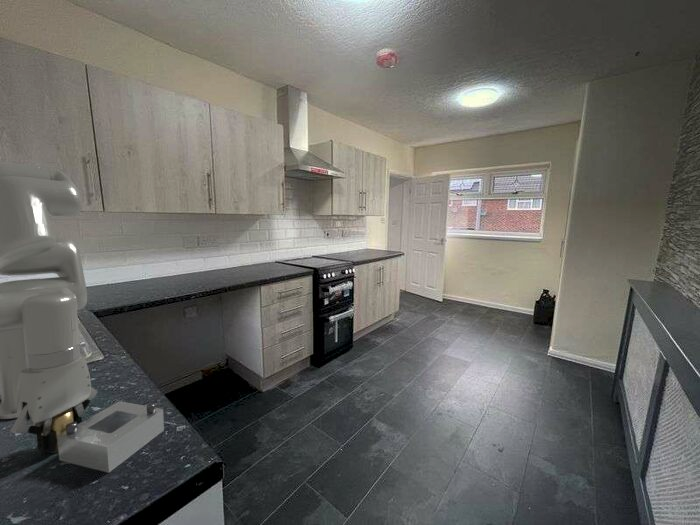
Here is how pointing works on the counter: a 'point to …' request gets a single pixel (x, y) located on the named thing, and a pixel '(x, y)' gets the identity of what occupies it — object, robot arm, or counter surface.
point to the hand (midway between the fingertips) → (61, 441)
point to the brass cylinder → (61, 424)
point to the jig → (110, 435)
